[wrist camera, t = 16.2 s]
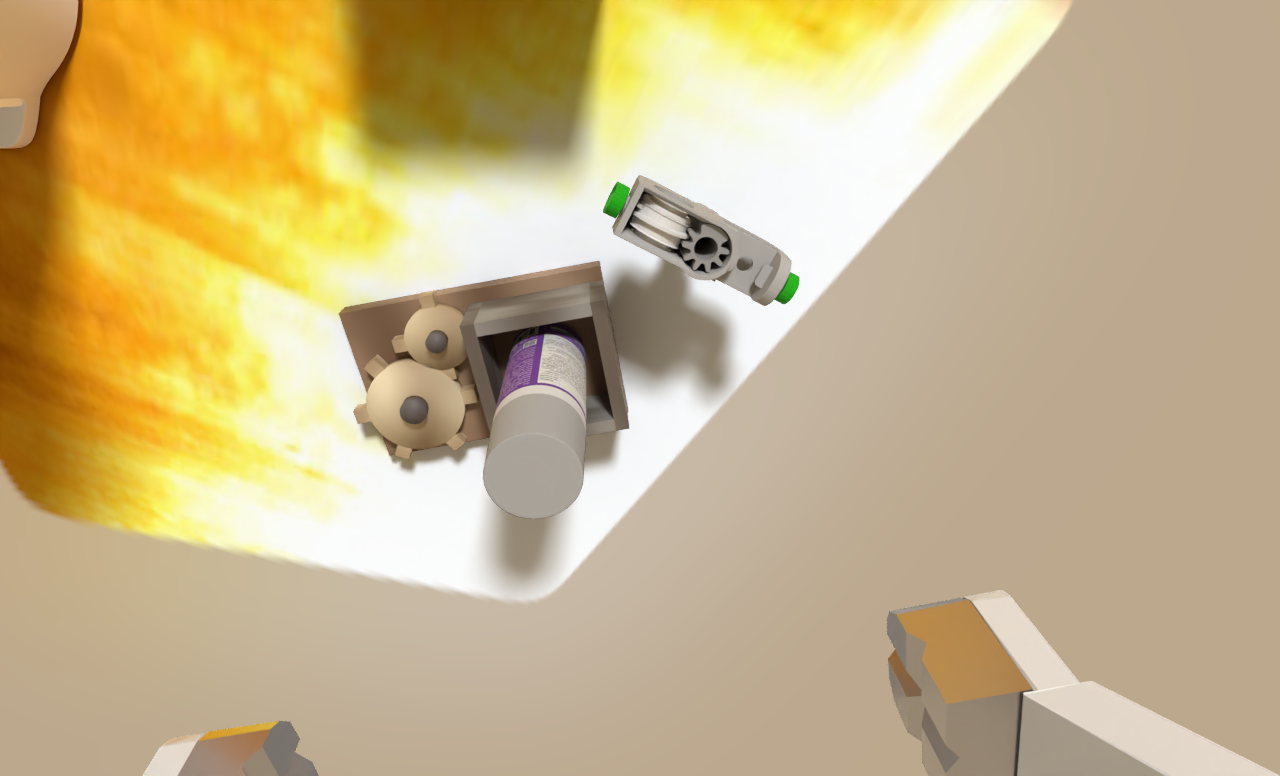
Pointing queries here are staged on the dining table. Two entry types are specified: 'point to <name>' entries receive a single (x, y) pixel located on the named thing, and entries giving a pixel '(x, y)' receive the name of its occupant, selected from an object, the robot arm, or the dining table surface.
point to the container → (539, 424)
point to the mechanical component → (700, 241)
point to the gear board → (475, 354)
